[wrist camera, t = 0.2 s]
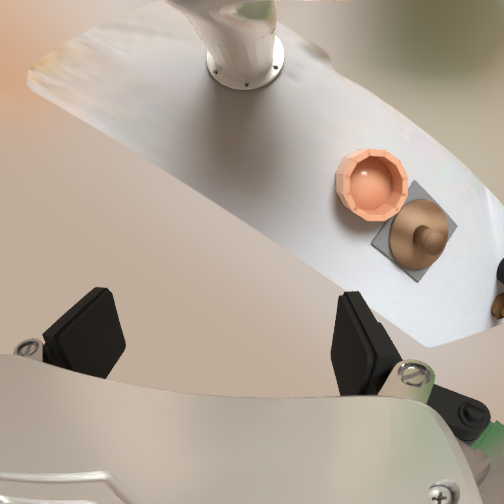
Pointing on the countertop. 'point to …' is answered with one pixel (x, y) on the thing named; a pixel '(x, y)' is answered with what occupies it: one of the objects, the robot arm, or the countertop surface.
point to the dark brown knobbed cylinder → (498, 307)
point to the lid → (418, 234)
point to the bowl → (372, 184)
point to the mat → (383, 235)
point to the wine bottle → (501, 271)
